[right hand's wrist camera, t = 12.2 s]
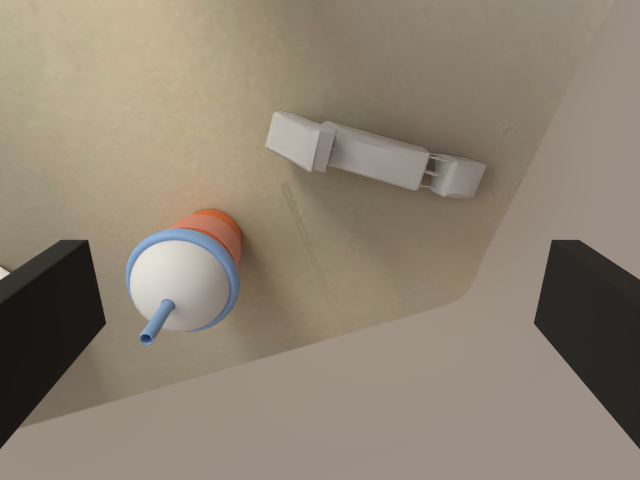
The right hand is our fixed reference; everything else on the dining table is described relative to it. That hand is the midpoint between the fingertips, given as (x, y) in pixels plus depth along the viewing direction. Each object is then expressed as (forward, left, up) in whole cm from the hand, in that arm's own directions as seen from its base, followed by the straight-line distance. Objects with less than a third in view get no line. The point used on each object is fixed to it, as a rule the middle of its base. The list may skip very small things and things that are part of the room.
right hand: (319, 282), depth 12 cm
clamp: (+5, 0, -30) cm, 31 cm away
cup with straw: (-9, -12, -30) cm, 34 cm away
